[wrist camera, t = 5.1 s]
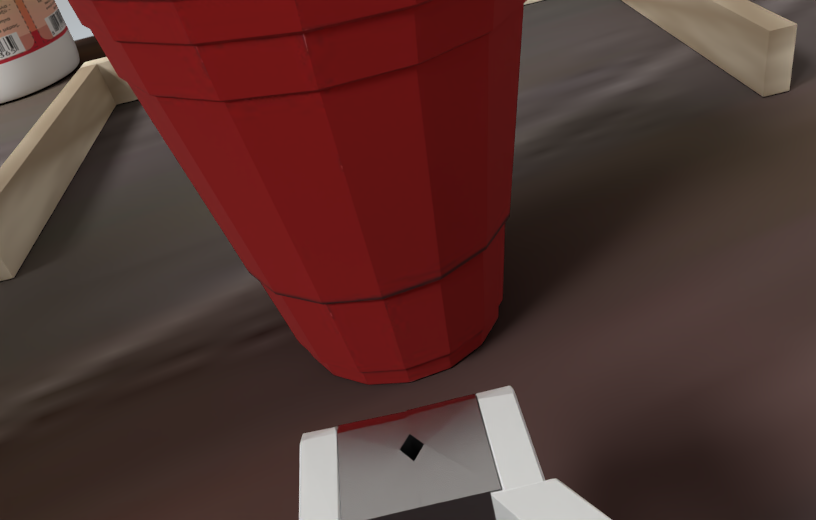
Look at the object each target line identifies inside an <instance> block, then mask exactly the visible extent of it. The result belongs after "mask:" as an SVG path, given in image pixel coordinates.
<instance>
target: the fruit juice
mask: <svg viewBox="0 0 816 520" xmlns="http://www.w3.org/2000/svg"><path fill="white" fill-rule="evenodd" d="M79 62H80V58H79V53H78V50H77V47H76V44H75V42H74V40H73V38H72V36H71V34H70V32H69V30H68V28H67V26H66V23H65V21H64V20H63V18H62V15H61V13H60V11H59V9H58V7H57V5H56V3H55V1H54V0H0V104H1V103H5V102H8V101H11V100H15V99H18V98H20V97H23V96H26V95H29V94H31V93H33V92H36V91H38V90H41V89H43V88H45V87H47V86H49V85H51V84H53V83H55V82H57V81H59V80H60V79H62V78H64V77H65V76H67V75H68V74H70V73H71V72H72V71H73V70H75V69H76V67H77V66H78V64H79Z"/></svg>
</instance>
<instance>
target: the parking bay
mask: <svg viewBox="0 0 816 520" xmlns="http://www.w3.org/2000/svg"><path fill="white" fill-rule="evenodd" d="M538 1H542V0H527V1H526V2H525V3H524V5H526V4H530V3H534V2H538ZM621 1H623V2H624V3H626V4H627V5H629V6H630V7H632V8H633V9H635V10H636V11H638V12H639V13H640V14H642V15H643V16H645V17H646V18H648V19H649V20H651V21H652V22H654V23H655V24H657V25H658V26H660V27H661V28H663V29H664V30H665V31H667V32H668V33H670V34H671V35H673V36H674V37H676V38H677V39H679V40H680V41H682V42H683V43H685V44H686V45H688V46H689V47H690V48H692V49H693V50H695V51H696V52H698V53H699V54H701V55H702V56H704V57H705V58H707V59H708V60H710V61H711V62H713V63H714V64H715V65H717V66H718V67H720V68H721V69H723V70H724V71H726V72H727V73H729V74H730V75H732V76H733V77H735V78H736V79H737V80H739V81H740V82H742V83H743V84H745V85H746V86H748V87H749V88H751V89H752V90H754V91H755V92H757V93H758V94H760V95H761V96H762V97H765V96H769V95H773V94H777V93H782V92H786V91H789V90H790V82H791V73H792V65H793V56H794V48H795V40H796V31H797V24H796V23H794V22H792V21H790V20H788V19H785V18H783V17H781V16H779V15H777V14H775V13H773V12H771V11H769V10H767V9H765V8H763V7H761V6H759V5H757V4H755V3H752V2H750V1H748V0H621ZM137 99H138V98H137V97H136V95H135V94H134V92H133V91H132V89H131V87H130V86H129V84H128V83H127V82H126V81H125V80H123V79H121V78H120V77H118V75H117V73H116V71H115V70H114V68H113V66H112V65H111V63H110V61H109V60H108V58H107V57H104V58H100V59H95V60H91V61H87V62H84V63H83V65H82V66H81V67H80V68H79V70H78V71H77V72H76V73H75V75H74V76H73V77H72V78H71V80H70V81H69V82H68V83H67V85H66V86H65V87H64V88H63V90H62V91H61V92H60V93H59V95H58V96H57V97H56V98H55V100H54V101H53V102H52V103H51V105H50V106H49V107H48V108H47V110H46V111H45V112H44V113H43V115H42V116H41V117H40V119H39V120H38V121H37V122H36V124H35V125H34V126H33V127H32V129H31V130H30V131H29V132H28V134H27V135H26V136H25V137H24V139H23V140H22V141H21V142H20V144H19V145H18V146H17V147H16V149H15V150H14V151H13V152H12V154H11V155H10V156H9V157H8V159H7V160H6V161H5V162H4V164H3V165H2V166H1V167H0V281H3V280H7V279H11V278H14V277H15V275H16V273H17V272H18V270H19V268H20V267H21V265H22V263H23V262H24V260H25V258H26V257H27V255H28V253H29V251H30V250H31V248H32V246H33V245H34V243H35V241H36V240H37V238H38V236H39V235H40V233H41V231H42V229H43V228H44V226H45V224H46V223H47V221H48V219H49V218H50V216H51V214H52V213H53V211H54V209H55V207H56V206H57V204H58V202H59V201H60V199H61V197H62V196H63V194H64V192H65V191H66V189H67V187H68V185H69V184H70V182H71V180H72V179H73V177H74V175H75V174H76V172H77V170H78V169H79V167H80V165H81V163H82V162H83V160H84V158H85V157H86V155H87V153H88V152H89V150H90V148H91V147H92V145H93V143H94V141H95V140H96V138H97V136H98V135H99V133H100V131H101V130H102V128H103V126H104V125H105V123H106V121H107V119H108V118H109V116H110V114H111V113H112V111H113V109H114V108H115V106H116V105H117V104H121V103H125V102H129V101H133V100H137Z"/></svg>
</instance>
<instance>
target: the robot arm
mask: <svg viewBox="0 0 816 520" xmlns="http://www.w3.org/2000/svg"><path fill="white" fill-rule="evenodd" d="M299 520H612V519H611V518H609V517H608V516H607V515H605V514H604V513H603V512H601V511H600V510H599V509H597V508H596V507H595V506H593V505H592V504H590V503H589V502H588V501H586V500H585V499H584V498H582V497H581V496H580V495H578V494H577V493H576V492H574V491H573V490H572V489H570V488H569V487H568V486H566V485H565V484H564V483H562V482H561V481H560V480H558V479H557V478H554V479H549V480H545V478H544V475H543V472H542V469H541V466H540V463H539V460H538V458H537V455H536V452H535V449H534V446H533V443H532V440H531V437H530V434H529V432H528V429H527V426H526V423H525V420H524V417H523V414H522V411H521V408H520V406H519V403H518V400H517V397H516V394H515V391H514V390H513V388H512V387H511V386H506V387H502V388H497V389H493V390H489V391H485V392H481V393H477V394H476V396H475V394H472V395H468V396H464V397H459V398H455V399H451V400H447V401H443V402H439V403H435V404H431V405H427V406H423V407H419V408H415V409H411V410H407V411H406V412H401V413H396V414H391V415H387V416H382V417H377V418H372V419H367V420H363V421H358V422H353V423H348V424H343V425H339V426H337V427H332V428H327V429H322V430H318V431H313V432H308V433H303V435H302V438H301V442H300V471H299Z"/></svg>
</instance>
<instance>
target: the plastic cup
mask: <svg viewBox="0 0 816 520" xmlns="http://www.w3.org/2000/svg"><path fill="white" fill-rule="evenodd" d="M68 1H69V3H70V5H71V6H72V8H73V10H74V11H75V13H76V15H77V17H78V18H79V20H80V21H81V23H82V25H84V26H86V27H88V28H90V29H91V31H92V33H93V34H94V36H95V38H96V39H97V41H98V43H99V45H100V46H101V48H102V50H103V51H104V53H105V55H106V56H107V58H108V60H109V61H110V63H111V65H112V66H113V68H114V70H115V71H116V73H117V75H118V77H120V78H121V79H123V80H125V81H126V82H127V83H128V84H129V86H130V87H131V89H132V91H133V92H134V94H135V95H136V97H137V98H138V100H139V101H140V103H141V105H142V106H143V108H144V109H145V111H146V112H147V114H148V115H149V117H150V119H151V120H152V122H153V123H154V125H155V126H156V128H157V129H158V131H159V133H160V134H161V136H162V137H163V139H164V140H165V142H166V144H167V145H168V147H169V148H170V150H171V151H172V153H173V154H174V156H175V158H176V159H177V161H178V162H179V164H180V165H181V167H182V168H183V170H184V172H185V173H186V175H187V176H188V178H189V179H190V181H191V182H192V184H193V186H194V187H195V189H196V190H197V192H198V193H199V195H200V196H201V198H202V200H203V201H204V203H205V204H206V206H207V207H208V209H209V211H210V212H211V214H212V215H213V217H214V218H215V220H216V221H217V223H218V225H219V226H220V228H221V229H222V231H223V232H224V234H225V235H226V237H227V239H228V240H229V242H230V243H231V245H232V246H233V248H234V249H235V251H236V253H237V254H238V256H239V257H240V259H241V260H242V262H243V263H244V265H245V267H246V268H247V270H248V271H249V273H250V274H252V275H253V276H254V277H255V278H257V279H258V280H259V281H260V282H261V284H262V285H263V287H264V289H265V290H266V292H267V293H268V295H269V296H270V298H271V299H272V301H273V303H274V304H275V306H276V307H277V309H278V310H279V312H280V313H281V315H282V317H283V318H284V320H285V321H286V323H287V324H288V326H289V327H290V329H291V331H292V332H293V334H294V335H295V337H296V338H297V340H298V342H299V343H300V344H302V345H303V346H304V347H305V348H306V349H307V350H308V351H310V353H311V355H312V356H313V357H314V358H315V359H316V360H317V361H319V362H320V363H321V364H322V365H323V366H324V367H325V368H326V369H328V370H329V371H330V372H331V373H332V374H333V375H335V376H339V377H343V378H346V379H350V380H353V381H357V382H361V383H364V384H368V385H371V384H387V383H404V382H412V381H415V380H417V379H420V378H423V377H426V376H429V375H432V374H434V373H437V372H440V371H443V370H446V369H448V368H451V367H452V366H454V365H455V364H456V363H458V362H459V361H460V360H462V359H463V358H464V357H466V356H467V355H468V354H470V353H471V352H472V351H474V350H475V349H476V348H478V347H479V346H480V345H482V343H483V342H484V340H485V338H486V337H487V335H488V333H489V332H490V330H491V329H492V327H493V325H494V324H495V322H496V320H497V319H498V311H499V305H500V303H501V301H502V300H503V274H504V244H505V222H506V221H507V219H508V218H509V216H510V201H511V186H512V171H513V156H514V141H515V126H516V111H517V96H518V81H519V66H520V51H521V36H522V21H523V6H524V3H525V2H526V1H527V0H68Z"/></svg>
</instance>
